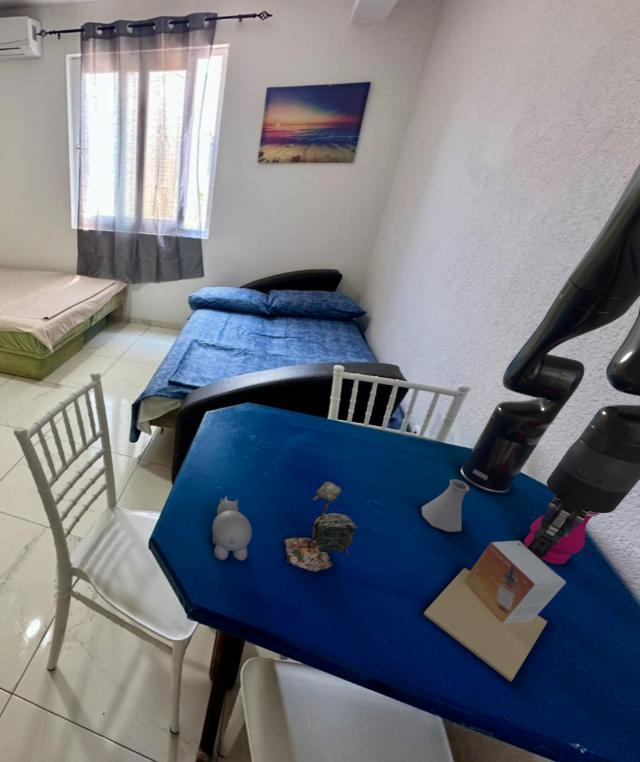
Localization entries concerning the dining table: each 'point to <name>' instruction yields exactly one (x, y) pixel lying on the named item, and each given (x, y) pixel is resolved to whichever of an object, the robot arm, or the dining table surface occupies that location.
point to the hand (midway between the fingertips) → (535, 551)
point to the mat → (483, 627)
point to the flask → (447, 507)
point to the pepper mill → (563, 541)
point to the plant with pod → (322, 536)
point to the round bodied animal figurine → (230, 531)
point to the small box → (513, 581)
